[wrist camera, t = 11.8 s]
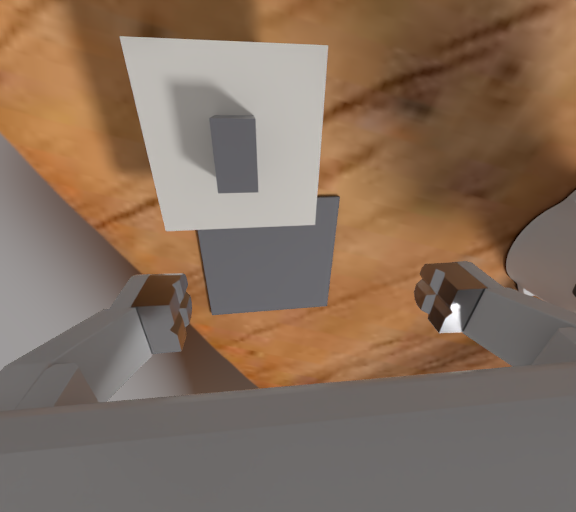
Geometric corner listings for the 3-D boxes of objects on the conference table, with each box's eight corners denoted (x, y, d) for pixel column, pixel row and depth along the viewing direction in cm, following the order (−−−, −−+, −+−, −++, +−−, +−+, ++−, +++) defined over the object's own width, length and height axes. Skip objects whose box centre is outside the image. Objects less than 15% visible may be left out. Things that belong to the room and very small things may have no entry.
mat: (338, 196, 32) (339, 197, 32) (326, 304, 41) (326, 305, 41) (193, 200, 30) (192, 201, 30) (212, 313, 39) (212, 315, 39)
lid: (325, 47, 20) (343, 35, 16) (313, 221, 27) (323, 241, 23) (123, 38, 18) (93, 24, 14) (168, 227, 25) (154, 249, 22)
